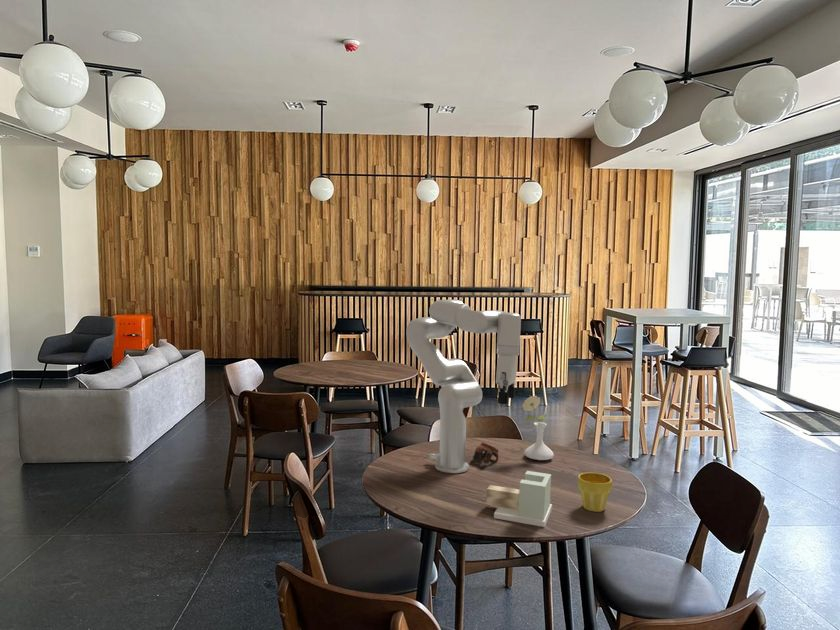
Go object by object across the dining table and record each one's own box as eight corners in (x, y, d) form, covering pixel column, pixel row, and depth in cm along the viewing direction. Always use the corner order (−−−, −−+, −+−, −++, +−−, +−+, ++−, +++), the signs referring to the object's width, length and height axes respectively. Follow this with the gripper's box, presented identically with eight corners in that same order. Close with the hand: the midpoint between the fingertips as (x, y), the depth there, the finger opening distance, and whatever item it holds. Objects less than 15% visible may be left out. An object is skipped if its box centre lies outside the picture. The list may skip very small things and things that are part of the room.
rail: (486, 504, 185) (487, 485, 185) (489, 500, 189) (490, 481, 188) (538, 513, 180) (539, 493, 179) (540, 508, 183) (541, 489, 183)
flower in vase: (549, 453, 242) (552, 392, 239) (556, 463, 230) (559, 399, 228) (517, 453, 241) (519, 392, 239) (523, 462, 230) (525, 398, 228)
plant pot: (569, 503, 191) (571, 474, 191) (595, 499, 196) (597, 470, 195) (591, 516, 182) (592, 485, 181) (617, 511, 186) (619, 481, 185)
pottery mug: (468, 459, 234) (476, 440, 235) (489, 470, 234) (498, 450, 236) (475, 461, 222) (484, 441, 224) (497, 473, 222) (506, 452, 224)
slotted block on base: (494, 518, 179) (495, 480, 178) (504, 501, 192) (505, 466, 191) (544, 527, 174) (546, 488, 173) (551, 508, 187) (553, 473, 186)
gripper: (503, 345, 208) (501, 394, 210) (490, 352, 192) (488, 405, 194) (524, 347, 205) (522, 396, 207) (513, 354, 189) (511, 407, 191)
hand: (506, 400), depth 200 cm, fingers open, 9 cm apart
